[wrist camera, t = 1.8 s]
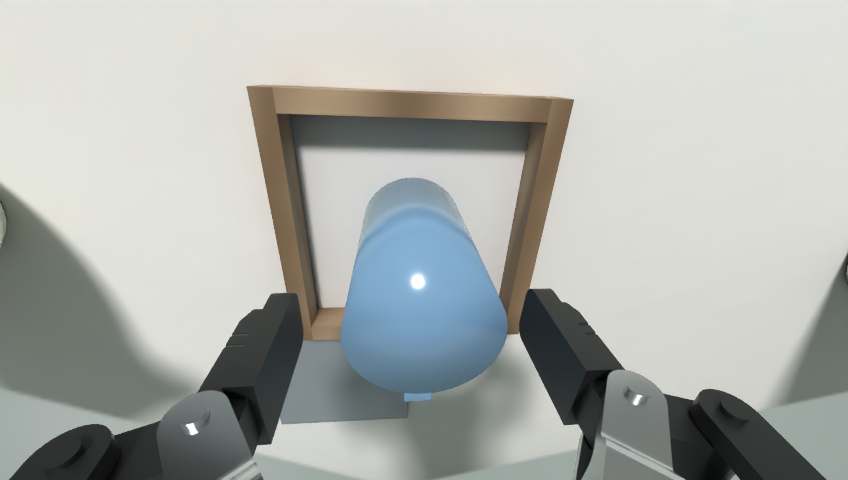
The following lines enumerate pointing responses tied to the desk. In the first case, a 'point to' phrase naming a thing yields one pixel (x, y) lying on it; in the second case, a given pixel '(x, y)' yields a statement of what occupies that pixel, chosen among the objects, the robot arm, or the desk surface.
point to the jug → (419, 295)
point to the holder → (281, 101)
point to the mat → (335, 389)
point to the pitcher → (2, 224)
